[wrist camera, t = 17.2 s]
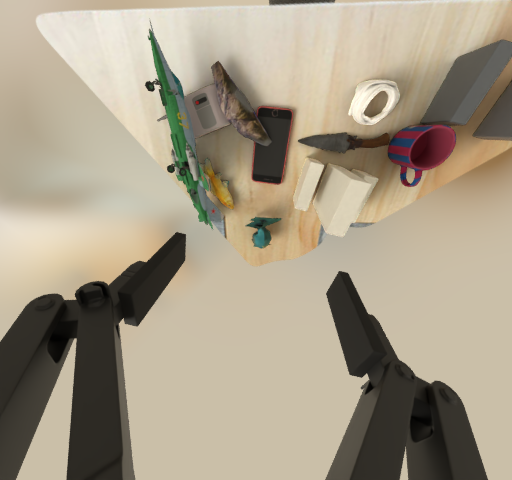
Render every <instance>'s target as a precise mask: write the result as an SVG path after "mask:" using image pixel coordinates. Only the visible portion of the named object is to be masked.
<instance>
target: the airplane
mask: <svg viewBox="0 0 512 480" xmlns="http://www.w3.org/2000/svg"><path fill="white" fill-rule="evenodd" d="M149 19H150V18H149ZM150 24H151V22H150ZM151 28H152V25H151ZM152 32H153V29H152V31H151V30H150V29H149V33H150V38H149V36H148V39H149V40H151V45H152V51H153V57H154V63H155V68H156V71H157V75H158V79H159V81H158V80H157V79H155V80H156V81H153V82H150V81H148V82H146V84H145V86H146V88H147V89H148V91H152V92H153V91H154V90H155V88H154V84H156V85H160V86H161V87H160V88H161V89H159V92H160V96H161V100H162V104H163V106H165V110H166V114H167V117H168V121H169V125H170V129H171V133H172V134H171V139H172V142H173V146H174V151H173V149H172V159H173V163H174V164H171V165H169V166H168V167H167V170H168V172H170V173H173V172H174V171H175V170H176V176H177V178H178V180H179V181H183V183H184V184H185V185H186V187H187V192H188V193H189V194H190V197H191V199H192V201H193V203H194V204H193V205H194V207H195V208H196V209H197V211H198V212H199V216H198V218H199V219H200V220H199V221H200V222H203V221H204V222H205V224H206V225H208V223H209V225H210V226H211V228H212V224H211V221H216V222H221V221H222V220H223V218H224V215H223V214H222V213H221V211H220V210H219V209H218V208H217V207H216V206H215V205H214V203H213V202H212V201H211V200H210V199H209V198H208V197H207V195H206V191H205V189H206V190H207V191H209V188H208V183H207V180H206V178H205V176H204V173H203V171H202V169H203V168H202V169H201V167H200V164H199V162H198V160H197V155H196V150H195V146H196V143H195V138H194V133H193V128H192V122H191V117H190V114H189V112H188V110H187V107H186V106H185V101H184V94H183V89H182V86H181V83H180V81H179V79H178V78H177V77H176V76H175V75H174V74H173V72H172V71H171V69H170V68H169V66H168V64H167V62H166V60H165V58H164V55H163V53H162V51H161V49H160V47H159V44H158V42H157V40H156V38H155V36H154V33H152ZM155 82H156V83H155ZM173 165H174V166H173ZM174 167H175V168H174ZM203 170H204V169H203ZM179 177H180V178H179ZM212 229H213V228H212Z"/></svg>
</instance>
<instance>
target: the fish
mask: <svg viewBox="0 0 512 480" xmlns="http://www.w3.org/2000/svg"><path fill="white" fill-rule="evenodd" d="M200 167H201V169H202V168H203V169H204V170H203V169H202V171H203V172H204V173H206V174H207V175H208V177H209V178H210V179H209V183H210V191H211V193H212V194H214V195H215V196H217V197H218V199H219V200H220V202H221V203H222V204H224V205H225V206H226V207H228V208H230V209H231V210H233V209H234V203H233V199H232V196H231V194H230V193H229V191H228V189H227V187H228V184H229V181H227V180H225V181H223V183H222V182H221V180H220V176H221V175H222V174H221V173H220V172H219V173H217V174H214V172H213V168H212V165H211V163H210V160H209V159H208V158H207V159H206V160H205V165H204V164H201V163H200Z"/></svg>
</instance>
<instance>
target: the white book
mask: <svg viewBox="0 0 512 480" xmlns="http://www.w3.org/2000/svg"><path fill="white" fill-rule="evenodd" d="M371 185H372V184H371V183H369V182H367V181H366V180H364V179H362V178H361V177H359V176H357V175H355V174H354V173H352V172H350V171H348V170H347V169H345V168H343V167H341V166H338V165H334V164H330V163H328V164H327V167H326V169H325V172H324V174H323V177H322V179H321V182H320V185H319V187H318V190H317V192H316V195H315V197H314V200H313V203H312V204H313V206H314V208H315V210H316V212H317V214H318V217H319V219H320V221H321V223H322V225H323V227H324V230H325V232H326V233H328V234H332V235H336V236H340V237H344V235H345V233H346V231H347V230H348V228H349V226H350V224H351V222H352V220H353V218H354V216H355V215H356V213H357V211H358V209H359V207H360V205H361V203H362V201H363V200H364V198H365V196H366V194H367V192H368V190H369V188H370V186H371Z"/></svg>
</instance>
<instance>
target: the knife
mask: <svg viewBox="0 0 512 480" xmlns="http://www.w3.org/2000/svg"><path fill="white" fill-rule="evenodd" d="M356 138H357V136H355V137H353V136H350V135H347V133H341V134H331V135H329V134H327V135H317V136H312V137H307V138H304V139H300V140H298V142H300V143H302V144H305V145H308V146H311V147H316V148H321V149H322V150H323V149H325V150H330V151H338V152H339V153H340V152H342V153H345V152H346V150H349V149H353V150H355V148H359V147H363V148H375V147H379V146H385V145H388V144H389V140H390V139H389V134H388V133H385V134H383V135H382V136H380V137H378V138H375V139H367V140H363V139H356Z"/></svg>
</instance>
